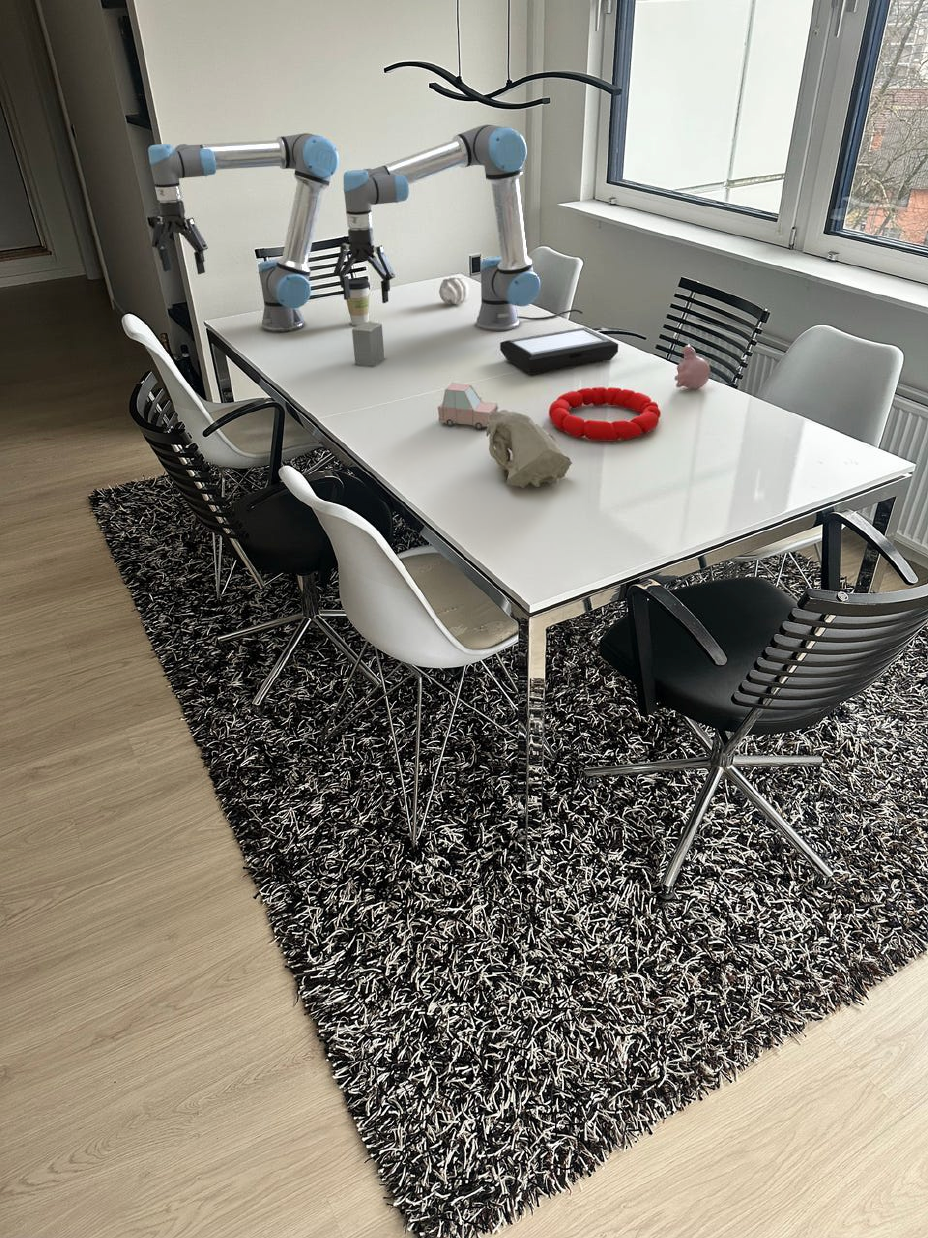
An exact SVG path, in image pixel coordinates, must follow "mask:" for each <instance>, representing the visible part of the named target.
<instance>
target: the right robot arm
mask: <svg viewBox="0 0 928 1238" xmlns="http://www.w3.org/2000/svg"><path fill="white" fill-rule="evenodd" d="M527 151H528V150H527V144H526V141H525V139H524V137H523V135H522V134H521V133H520V132H518V131H517V130H515V129H513V128H511V127H509V126H500V125H494V124H483V125H479V126H476V127H473V128H471V129H469V130H465V131H463V132H461V133H459V134H455V135H454V136H453V137H452V139H451V140H449V141H446V142H445V143H441V144H438V145H436V146H433V147H430V148H427V149H425V150H422V151H419V152H417V153H413V154H410V155H409V156H406V157H402V158H400V159H397V160H394V161H392V162H390V163H386V164H384V165H382V166H381V165H380V166H378V167H375V168H364V169H353V170H347V171H346V172H344V174H343V181H342V182H343V194H344V202H345V212H346V213H345V214H346V222H347V223H346V224H347V228H348V229H347V235H348V236H347V237H348V242H349V244H348V243H347V242H344V243H341V244H340V246H339V254H338V257H337V260H336V263H335V267H334V269H333V275H334V276H338V277H339V283H340V288H341V289H342V293H343V300H345V301H346V300H347V299H349V298H350V288H349V279H350V278H349V276H348V275H347V274H348V273H349V271H350V270H351V268H352V267H353V265H354V264H355V262H356V261H357V262H360V261H362V262H368V263H369V264H370V265H371V266H372V267H373V269H374V270H375V271H376V273H377V274H378V276H379V277H380V278H381V281H380V289H381V290H380V291H381V303H382V304H386V303H388V302H389V292H390V291H391V281H390V280H392V279H394V278H396V274H395V272H394V270H393V268H392V266H391V264H390V262H389V260H388V257H387V256H386V253H385V248H384V245H379V246H375V245H374V239H375V238H374V229H373V228H372V227H373V217H372V215H373V214H372V206H377V205H385V204H386V205H387V204H398V203H401V202H406V201H407V200H408V197H409V194H410V187H409V185H412V184H415V183H417V182H420V181H423V180H426V179H428V178H431V177H433V176H436V175H439V174H441V173H444V172H447V171H450V170H453V169H455V168H458V167H460V168H462V169H465V168H467V167H472V166H483V168H484V174H485V179H486V180H487V181H488V182H489V183H490V184H491V190H492V199H493V207H494V214H495V222H496V223H495V224H496V230H497V237H498V244H499V253H500V256H493V257H487V258H484V259H483V260H482V261H481V262H480V270H479V271H480V296H481V302H480V303H481V304H480V308H479V312H478V316H477V318H476V326H477V327H478V329H481V330H485V331H490V332H502V331H510V330H513V329H516V328H518V327H519V326H520V319H522V320H529V321H534V320H536V321H538V320H548V319H553V318H556V317H557V316H561V315H564V314H568V313H569V314H570V313H572V312H577V313H579V314H580V315H583V314H584V313H583V311H581V310H579V309H575V308H574V309H569V310H565V311H560V312H558V313H555V314H553V315H549V316H544V317H543V316H541V317H529V316H528V317H527V316H519V315H518V311H517V307H523V308H524V307H527V306H529V305H531V304H532V303H533V302H534V301H536V299H537V297H538V295H539V294H540V291H541V280H540V278H539V276H538V274H537V273H536V272H534V266H533V259H531V258H530V257H529V256H528V255H527V246H526V237H525V228H524V219H523V209H522V202H521V191H520V182H519V180H520V177H521V175H522V174H523V165H524V162H525V161H526V160H527V159H526V158H527V154H528V153H527ZM348 252H350V256H349V257H348V259H347V261H346V263H345V260H346V257H347V254H348ZM375 254H376V255H377V256H376V255H375ZM344 263H345V265H344Z"/></svg>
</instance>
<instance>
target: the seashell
mask: <svg viewBox="0 0 928 1238" xmlns="http://www.w3.org/2000/svg"><path fill="white" fill-rule="evenodd" d="M438 294H439V297H440V299H441V300H442V302H443V303H445V304H447V305H459V304H462V303H464V302H465V301H466V299H467V298H468V296H469V295H470V286H469V284H468V283H467V281H466V280H464V279H463V278H462V277H461V278H460V277H449V278H445V279H443V280H442V282H441V283H440V285H439V289H438Z"/></svg>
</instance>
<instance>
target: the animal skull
mask: <svg viewBox="0 0 928 1238" xmlns="http://www.w3.org/2000/svg"><path fill="white" fill-rule="evenodd" d="M485 436H486V438H487V437H489V438H488V440H489V444H488V445H489V446H488V450H489V454H490V456H491V457H492V458H493V459H494V460H495V462H496V464H497V466H499V468H500V470H501V471H502V472H501V478H502V479H507V480H506V484H507V486H517V487H518V486H519V488H523V489H524V488H526V486H527V485H529V483H531V485H533V486H534V487H536V488H540V485H541V484H542V482H544V483H549V484H550V485H553V484H555V483H556V482H557V480H561V479H563V478H565V476H566V474H567V472H568V471H569V469H570V467H571V466H572V464H573V462H572V461H571V458H570V457H568V456H567V455H565V453H564V451H562V449H561V448H560V446H559V444H557V443H556V439H555V438H554V436H553V435H551V434H550V433H548V432H547V431H546V430H545V429H544V428H542V427H541V426H539V425H538V424H537V423H536V424H535V422H534V421H533V419H532V418H531V417H530V416H529V415H527V414H524V413H519V412H515V411H509V410H507V409H502V410H500V411H499V410H497V411H496V412H492V413H491V414H490V422H488V423H487V427H486V435H485ZM511 453H512V454H511ZM511 455H512V457H513V458H512V460H511ZM507 474H508V475H507Z"/></svg>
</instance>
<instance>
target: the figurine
mask: <svg viewBox="0 0 928 1238" xmlns="http://www.w3.org/2000/svg"><path fill="white" fill-rule="evenodd" d="M682 354H683V358H684V359H683V361H682V362H679V363H678V364H677V365H676V372H677V375H675V376H674V381H675V382H676V381H677V382H676V384H675V386H676V388H681V387H686V388H688V389H693V390H694V389H695V390H696V389H700V388H703V387H704V386H705V385H706V384H707V383H708V382H709V379H710V377H711V367H710V364H709V362H708V361H706V359H704V358H702V357H700V356H697V353H696V350H695V349H694V347H692V345H690V344H686V345H685V346H684V347H683V348H682Z"/></svg>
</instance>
